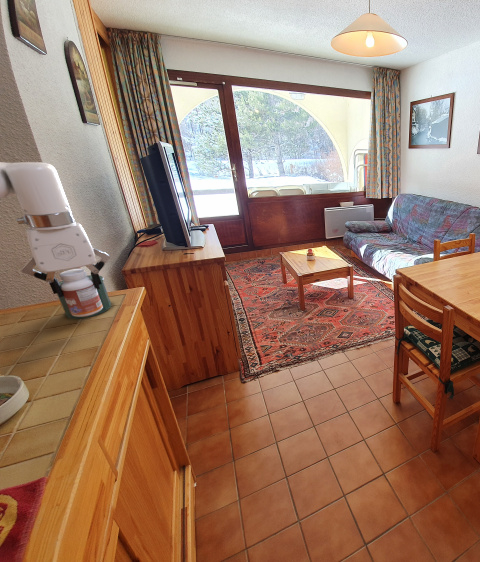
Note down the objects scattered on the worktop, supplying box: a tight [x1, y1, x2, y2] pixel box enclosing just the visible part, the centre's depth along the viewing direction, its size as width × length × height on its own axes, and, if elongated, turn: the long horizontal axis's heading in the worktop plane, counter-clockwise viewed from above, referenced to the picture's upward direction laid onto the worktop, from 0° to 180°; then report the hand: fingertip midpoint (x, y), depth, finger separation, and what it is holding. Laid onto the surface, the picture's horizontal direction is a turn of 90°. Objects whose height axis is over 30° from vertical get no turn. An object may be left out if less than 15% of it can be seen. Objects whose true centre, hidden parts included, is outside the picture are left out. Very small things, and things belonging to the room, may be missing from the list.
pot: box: [56, 281, 112, 320], centre depth 88 cm, size 10×15×8 cm, turn 30°
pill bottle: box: [59, 268, 103, 317], centre depth 78 cm, size 6×6×11 cm
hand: (79, 290), depth 77 cm, fingers closed on pill bottle, 6 cm apart
